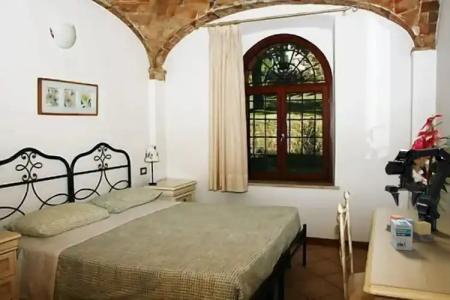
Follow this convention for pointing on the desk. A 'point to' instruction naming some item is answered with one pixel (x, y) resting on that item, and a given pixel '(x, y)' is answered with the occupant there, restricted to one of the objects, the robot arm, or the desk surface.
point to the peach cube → (396, 217)
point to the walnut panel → (417, 236)
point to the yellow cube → (422, 228)
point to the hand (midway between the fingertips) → (405, 206)
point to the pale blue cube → (410, 222)
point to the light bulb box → (401, 234)
